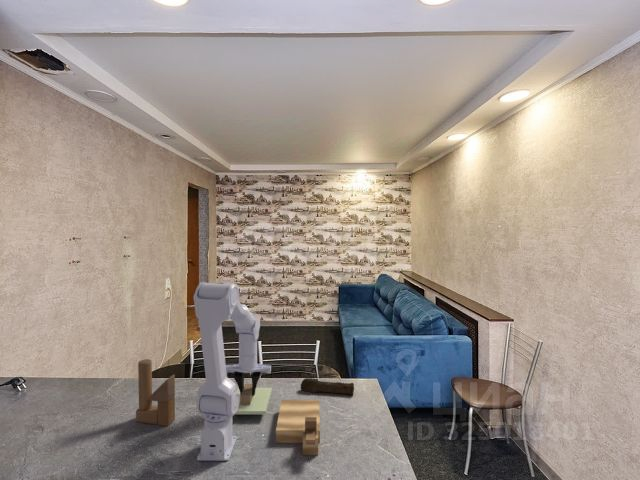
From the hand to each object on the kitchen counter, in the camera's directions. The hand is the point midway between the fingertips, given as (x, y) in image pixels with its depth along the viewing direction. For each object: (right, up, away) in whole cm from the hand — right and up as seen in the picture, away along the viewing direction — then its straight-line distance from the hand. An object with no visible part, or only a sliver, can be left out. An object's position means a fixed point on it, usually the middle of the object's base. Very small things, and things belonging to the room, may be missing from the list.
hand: (247, 394), depth 113 cm
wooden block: (-26, -5, -8) cm, 28 cm away
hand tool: (+26, -5, +11) cm, 28 cm away
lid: (+1, -2, 0) cm, 3 cm away
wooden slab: (+17, -5, -12) cm, 22 cm away
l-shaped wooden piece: (+21, -1, -23) cm, 31 cm away
